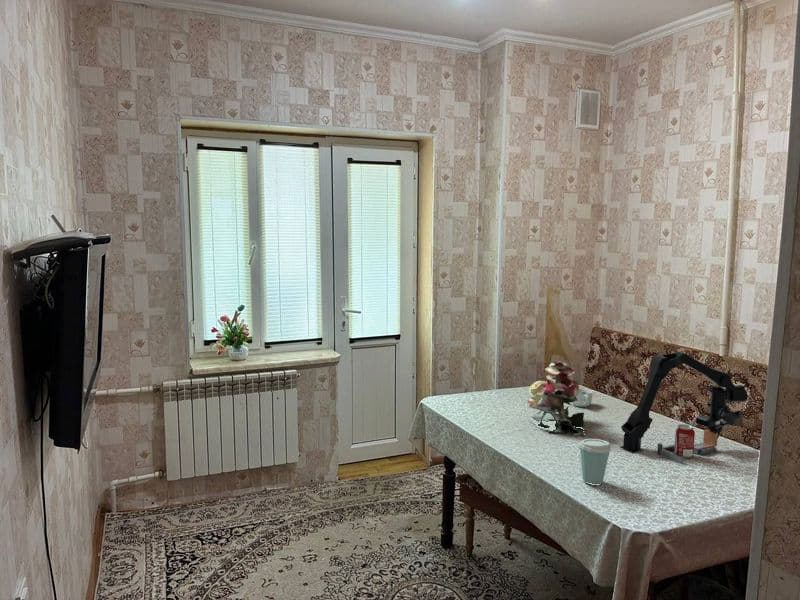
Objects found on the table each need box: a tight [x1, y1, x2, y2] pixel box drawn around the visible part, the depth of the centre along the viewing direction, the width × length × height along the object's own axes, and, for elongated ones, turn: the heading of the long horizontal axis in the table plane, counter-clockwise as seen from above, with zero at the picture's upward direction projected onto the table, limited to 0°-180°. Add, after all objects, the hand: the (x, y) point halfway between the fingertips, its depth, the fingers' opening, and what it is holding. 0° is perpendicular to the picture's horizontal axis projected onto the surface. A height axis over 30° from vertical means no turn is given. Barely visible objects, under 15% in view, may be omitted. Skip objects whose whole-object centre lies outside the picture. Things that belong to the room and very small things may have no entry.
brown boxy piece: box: [694, 429, 718, 455], centre depth 233 cm, size 10×5×7 cm, turn 116°
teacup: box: [571, 387, 594, 408], centre depth 293 cm, size 14×11×8 cm
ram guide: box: [694, 442, 717, 456], centre depth 233 cm, size 8×6×2 cm
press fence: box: [657, 443, 684, 464], centre depth 228 cm, size 12×11×4 cm
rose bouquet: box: [526, 360, 593, 437], centre depth 262 cm, size 26×29×30 cm
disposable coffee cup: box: [579, 438, 612, 484], centre depth 203 cm, size 11×11×15 cm
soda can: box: [673, 423, 696, 459], centre depth 228 cm, size 7×7×12 cm
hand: (715, 439), depth 236 cm, fingers closed
